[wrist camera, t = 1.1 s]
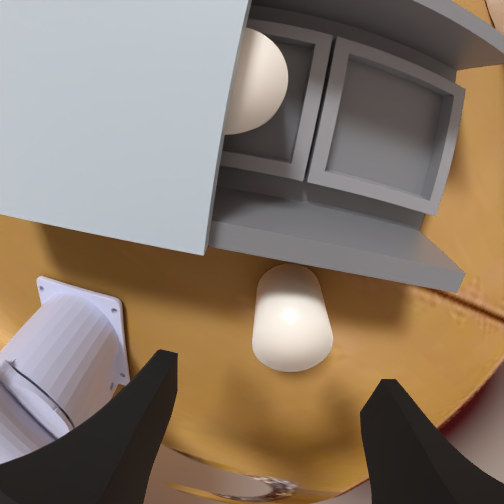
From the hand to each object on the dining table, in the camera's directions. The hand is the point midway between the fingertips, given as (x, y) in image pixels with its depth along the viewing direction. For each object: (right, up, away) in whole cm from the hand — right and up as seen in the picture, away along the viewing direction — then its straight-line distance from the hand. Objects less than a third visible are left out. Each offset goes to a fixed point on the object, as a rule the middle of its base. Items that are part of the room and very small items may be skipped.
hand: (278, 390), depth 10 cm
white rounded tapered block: (-1, +13, +5) cm, 14 cm away
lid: (-9, +12, -1) cm, 15 cm away
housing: (-3, +13, +5) cm, 14 cm away
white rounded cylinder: (+1, +2, +9) cm, 10 cm away
